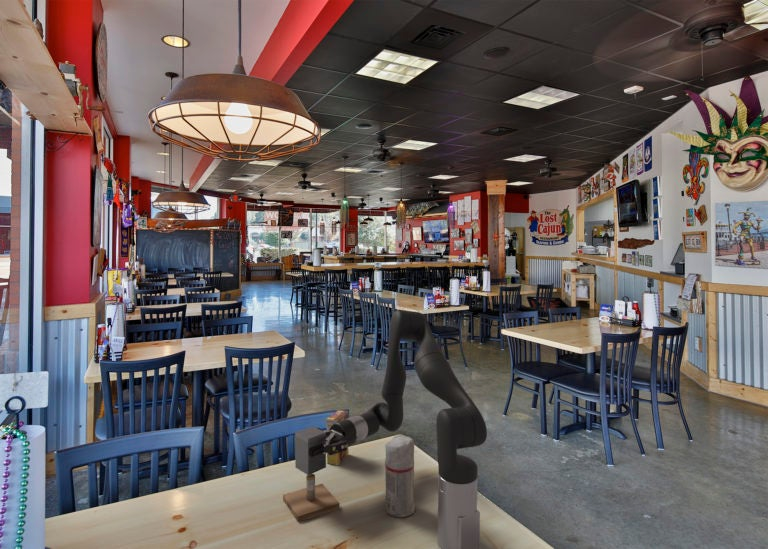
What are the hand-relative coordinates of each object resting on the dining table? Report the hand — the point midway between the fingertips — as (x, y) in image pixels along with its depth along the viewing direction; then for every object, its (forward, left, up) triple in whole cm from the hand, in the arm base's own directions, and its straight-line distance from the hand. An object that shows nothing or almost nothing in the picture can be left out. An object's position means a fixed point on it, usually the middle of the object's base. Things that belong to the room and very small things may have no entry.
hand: (303, 449), depth 120 cm
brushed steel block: (+1, -2, -6) cm, 6 cm away
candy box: (+22, -20, -17) cm, 34 cm away
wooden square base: (+1, -2, -16) cm, 17 cm away
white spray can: (-14, -22, -17) cm, 31 cm away
